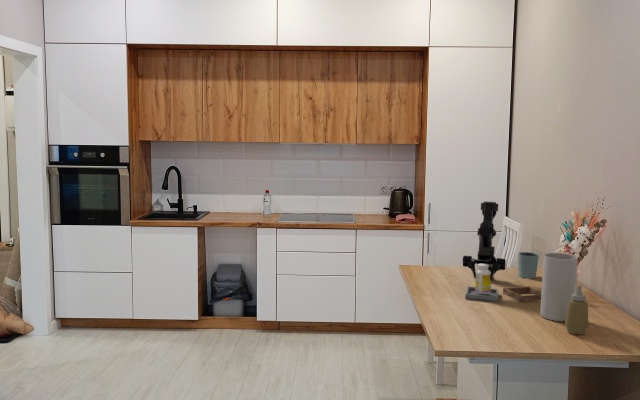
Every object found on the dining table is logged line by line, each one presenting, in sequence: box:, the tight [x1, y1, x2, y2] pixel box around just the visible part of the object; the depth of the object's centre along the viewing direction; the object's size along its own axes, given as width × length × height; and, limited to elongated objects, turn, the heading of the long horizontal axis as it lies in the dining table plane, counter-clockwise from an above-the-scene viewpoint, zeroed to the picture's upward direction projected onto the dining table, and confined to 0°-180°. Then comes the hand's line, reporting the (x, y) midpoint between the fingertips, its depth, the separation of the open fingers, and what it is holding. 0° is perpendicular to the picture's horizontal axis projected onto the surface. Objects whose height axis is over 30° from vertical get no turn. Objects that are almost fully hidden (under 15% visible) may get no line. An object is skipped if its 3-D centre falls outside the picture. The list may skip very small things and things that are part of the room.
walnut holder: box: [502, 286, 542, 303], centre depth 265 cm, size 14×14×2 cm
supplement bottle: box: [474, 264, 492, 294], centre depth 263 cm, size 7×7×13 cm
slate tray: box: [464, 286, 499, 303], centre depth 264 cm, size 14×14×2 cm
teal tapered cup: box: [517, 251, 540, 279], centre depth 302 cm, size 10×10×12 cm
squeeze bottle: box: [564, 284, 590, 336], centre depth 216 cm, size 8×8×18 cm
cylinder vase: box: [539, 252, 579, 323], centre depth 234 cm, size 12×12×25 cm
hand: (482, 278), depth 262 cm, fingers closed on supplement bottle, 6 cm apart
